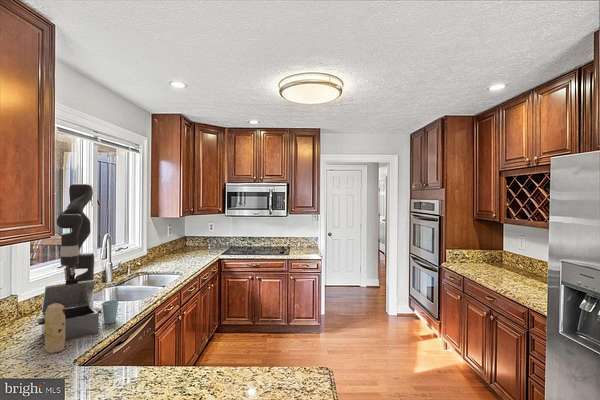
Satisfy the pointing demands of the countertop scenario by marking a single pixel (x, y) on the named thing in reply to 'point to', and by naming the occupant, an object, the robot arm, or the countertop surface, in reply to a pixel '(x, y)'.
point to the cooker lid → (69, 294)
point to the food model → (55, 328)
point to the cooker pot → (78, 322)
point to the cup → (110, 311)
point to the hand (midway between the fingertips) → (69, 289)
